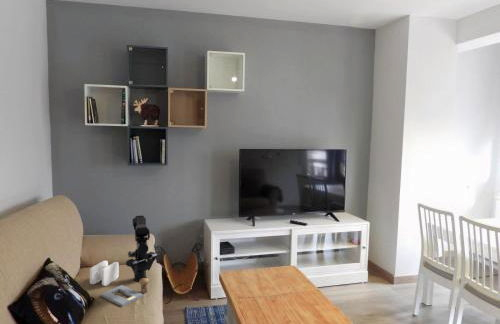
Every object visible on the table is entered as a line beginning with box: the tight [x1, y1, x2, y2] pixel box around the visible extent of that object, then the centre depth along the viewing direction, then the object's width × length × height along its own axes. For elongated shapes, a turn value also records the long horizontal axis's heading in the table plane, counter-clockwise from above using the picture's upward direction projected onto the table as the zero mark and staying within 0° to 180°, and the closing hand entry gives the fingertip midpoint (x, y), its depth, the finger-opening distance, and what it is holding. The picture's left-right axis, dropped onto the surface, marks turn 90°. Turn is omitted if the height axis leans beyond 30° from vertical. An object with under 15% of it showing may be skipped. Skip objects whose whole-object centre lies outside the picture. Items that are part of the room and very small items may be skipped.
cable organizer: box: [89, 260, 120, 287], centre depth 219 cm, size 15×11×12 cm
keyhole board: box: [100, 284, 144, 307], centre depth 202 cm, size 20×14×2 cm
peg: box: [138, 277, 150, 294], centre depth 207 cm, size 5×5×8 cm
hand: (142, 273), depth 206 cm, fingers open, 9 cm apart
